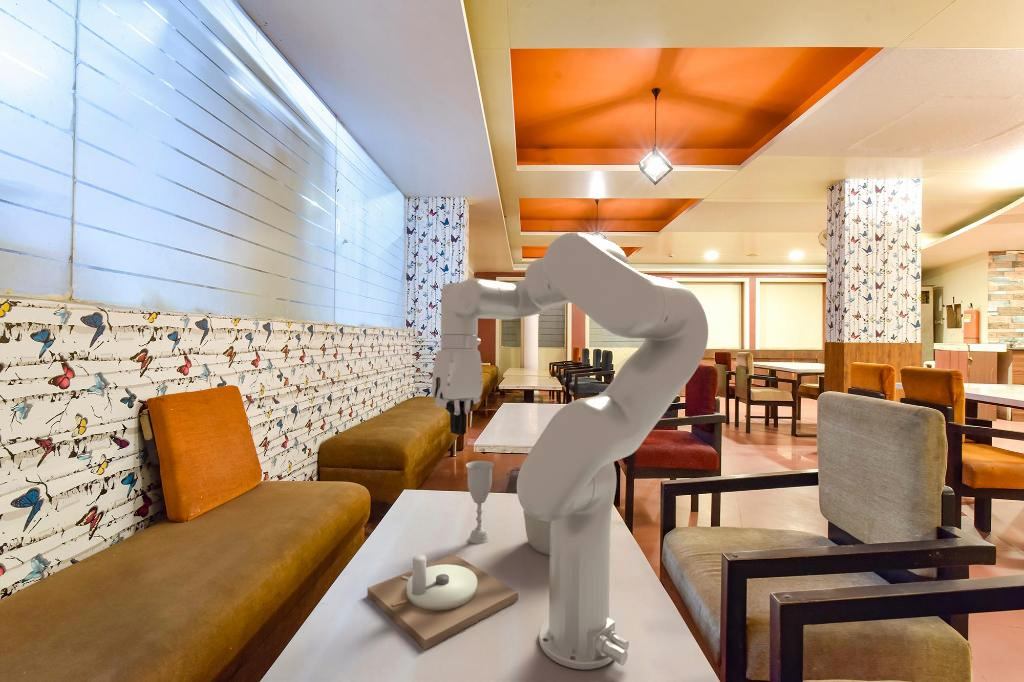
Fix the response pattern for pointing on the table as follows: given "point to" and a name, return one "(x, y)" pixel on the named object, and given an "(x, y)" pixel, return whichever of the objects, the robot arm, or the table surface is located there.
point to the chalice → (479, 494)
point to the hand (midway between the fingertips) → (458, 433)
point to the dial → (440, 585)
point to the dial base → (440, 623)
